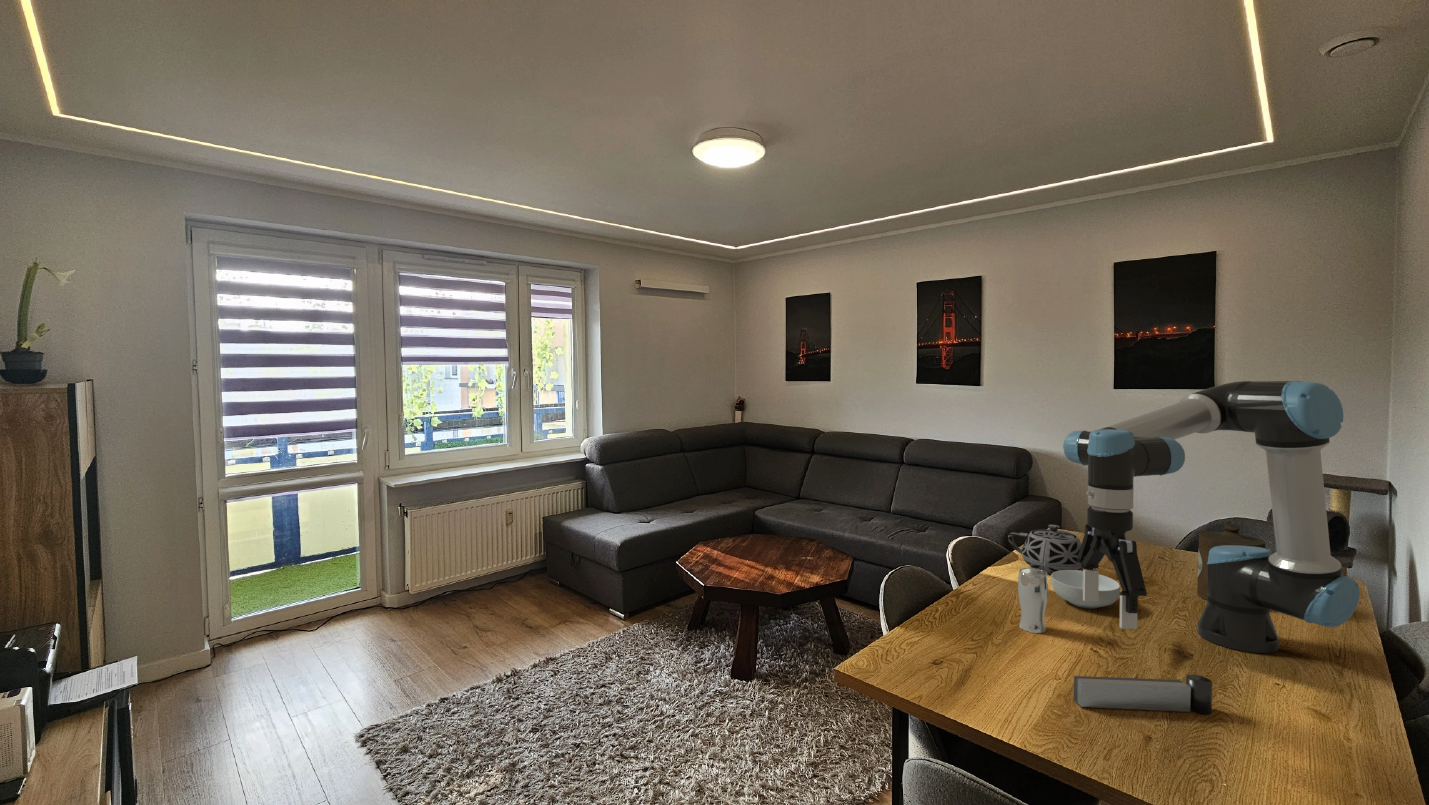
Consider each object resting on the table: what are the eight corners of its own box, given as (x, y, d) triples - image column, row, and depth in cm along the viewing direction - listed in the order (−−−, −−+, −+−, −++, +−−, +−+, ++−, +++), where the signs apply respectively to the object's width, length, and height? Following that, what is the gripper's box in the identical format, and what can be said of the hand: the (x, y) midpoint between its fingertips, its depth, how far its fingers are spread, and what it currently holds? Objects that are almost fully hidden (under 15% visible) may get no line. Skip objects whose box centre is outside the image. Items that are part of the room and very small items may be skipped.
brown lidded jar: (1218, 587, 182) (1220, 516, 181) (1277, 605, 168) (1279, 528, 167) (1184, 594, 178) (1186, 521, 177) (1242, 612, 164) (1244, 533, 163)
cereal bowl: (1055, 610, 167) (1055, 585, 167) (1046, 590, 183) (1047, 567, 182) (1126, 618, 161) (1127, 593, 161) (1112, 597, 176) (1112, 573, 176)
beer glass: (1051, 635, 151) (1052, 577, 151) (1022, 633, 153) (1022, 575, 152) (1042, 624, 158) (1043, 568, 158) (1014, 622, 160) (1014, 567, 159)
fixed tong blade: (1202, 704, 119) (1202, 675, 119) (1216, 715, 116) (1217, 685, 115) (1072, 698, 122) (1073, 670, 122) (1082, 709, 118) (1083, 680, 118)
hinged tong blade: (1185, 707, 118) (1185, 682, 118) (1190, 711, 116) (1190, 686, 116) (1077, 702, 120) (1077, 678, 120) (1081, 706, 119) (1081, 682, 118)
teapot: (1104, 588, 183) (1105, 540, 183) (999, 567, 205) (999, 524, 204) (1116, 572, 197) (1117, 527, 197) (1016, 554, 218) (1017, 514, 218)
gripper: (1060, 495, 131) (1059, 590, 132) (1126, 523, 106) (1124, 641, 107) (1096, 495, 130) (1095, 591, 131) (1171, 524, 105) (1169, 642, 106)
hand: (1108, 613), depth 119 cm, fingers open, 13 cm apart
